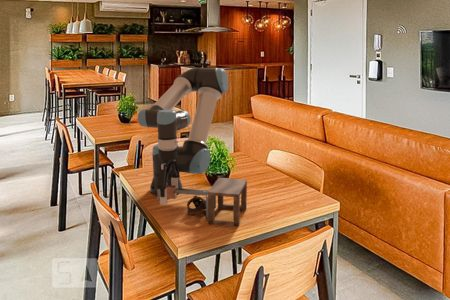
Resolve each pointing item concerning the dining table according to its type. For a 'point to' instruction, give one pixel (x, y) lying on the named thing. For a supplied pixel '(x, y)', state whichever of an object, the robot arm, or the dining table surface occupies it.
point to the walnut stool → (227, 189)
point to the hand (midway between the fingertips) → (169, 198)
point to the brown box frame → (174, 190)
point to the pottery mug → (196, 205)
